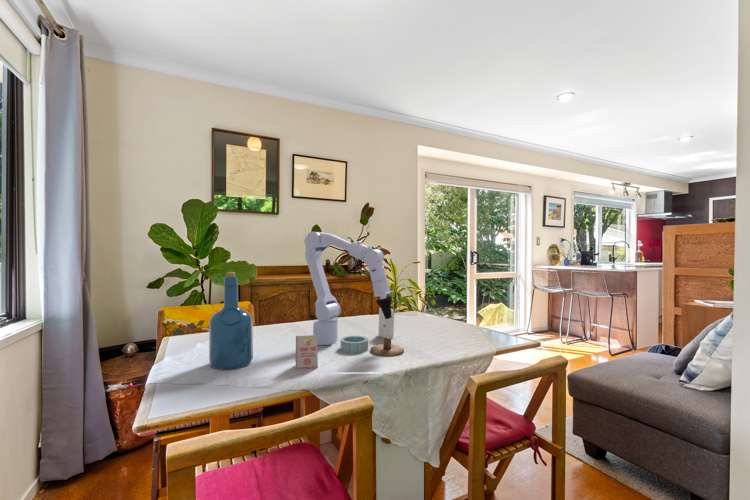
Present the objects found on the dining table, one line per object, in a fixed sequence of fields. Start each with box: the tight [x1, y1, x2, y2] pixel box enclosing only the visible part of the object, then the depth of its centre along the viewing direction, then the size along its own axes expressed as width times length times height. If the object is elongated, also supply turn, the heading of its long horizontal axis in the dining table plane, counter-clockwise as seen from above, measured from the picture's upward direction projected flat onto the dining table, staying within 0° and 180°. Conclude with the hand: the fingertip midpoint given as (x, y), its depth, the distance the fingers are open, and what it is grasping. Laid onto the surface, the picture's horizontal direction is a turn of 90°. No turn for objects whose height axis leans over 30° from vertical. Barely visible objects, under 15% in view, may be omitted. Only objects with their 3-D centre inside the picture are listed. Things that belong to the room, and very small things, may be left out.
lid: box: [370, 337, 405, 357], centre depth 132 cm, size 12×12×5 cm
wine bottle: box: [208, 271, 254, 370], centre depth 120 cm, size 14×13×30 cm
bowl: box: [340, 335, 369, 354], centre depth 136 cm, size 10×10×4 cm
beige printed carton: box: [295, 334, 319, 370], centre depth 118 cm, size 4×7×10 cm, turn 100°
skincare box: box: [378, 307, 395, 338], centre depth 153 cm, size 6×4×12 cm
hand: (388, 317), depth 134 cm, fingers open, 7 cm apart
